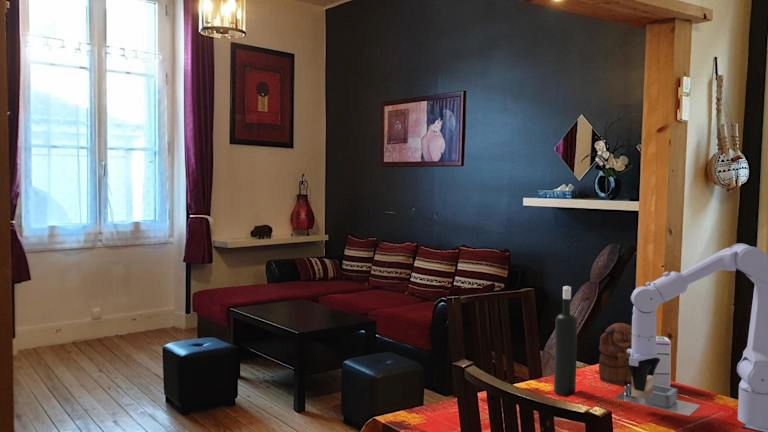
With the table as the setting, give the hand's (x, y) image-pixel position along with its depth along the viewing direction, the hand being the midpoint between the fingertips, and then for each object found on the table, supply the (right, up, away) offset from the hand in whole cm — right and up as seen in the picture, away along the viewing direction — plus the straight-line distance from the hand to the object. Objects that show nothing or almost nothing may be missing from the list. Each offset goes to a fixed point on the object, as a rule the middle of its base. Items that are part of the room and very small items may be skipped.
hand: (642, 387), depth 161 cm
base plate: (+6, -7, +7) cm, 12 cm away
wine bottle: (-15, -6, +17) cm, 23 cm away
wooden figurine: (+4, -6, +24) cm, 25 cm away
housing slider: (+8, -6, +7) cm, 12 cm away
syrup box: (+13, -6, +21) cm, 26 cm away
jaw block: (0, -2, 0) cm, 2 cm away
